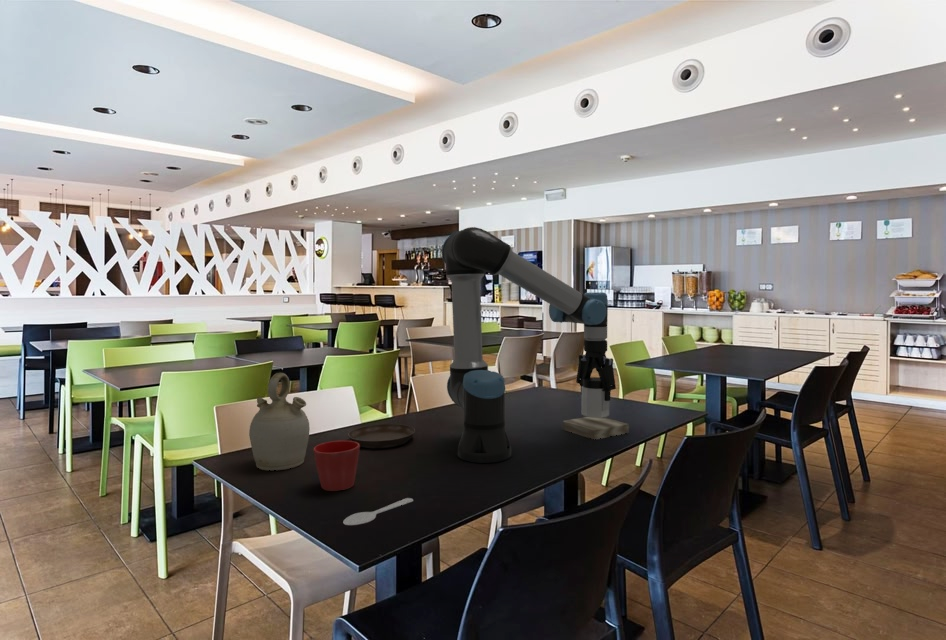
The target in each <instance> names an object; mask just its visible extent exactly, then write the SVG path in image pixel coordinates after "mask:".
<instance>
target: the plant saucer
mask: <svg viewBox="0 0 946 640" xmlns="http://www.w3.org/2000/svg"><path fill="white" fill-rule="evenodd" d="M415 429H416V428H414V427H413V426H409V425H406V424H399V423H383V424H372V425H371V424H370V425H366V426H361V427H358V428H355V429H353V430H351V431H349V432H348V433H347V436H348V438H349V440H350V441H354V442H357V443H359V445H360V448H367V449H386V448H387V449H388V448H394V447H398V446H399V447H400V446H402V445H404V444H406V443H407V442H408V441H409V440H411V438H412V437H413V436H414V434H415V432H416V430H415Z"/></svg>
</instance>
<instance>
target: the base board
mask: <svg viewBox="0 0 946 640" xmlns="http://www.w3.org/2000/svg"><path fill="white" fill-rule="evenodd" d="M629 429H630V425H629V423H626V422H622V421H619V420H614V419H611V418H607V417H603V418H593V417H586V416H583V417H579V418H572V419H571V418H570V419H567V420H562V431H566V432H568V433H569V432H570V433H571V432H572V434H574V435H578V436H581V437H583V438H588V439H590V438H591V439H590V440H593V439H594V441H595V439H596V440H601V439H605V438H606V439H607V438H611V437H610V436H612V437H616V435H617V436H621V434H622V435H626V434H625V433H627V434H629ZM600 438H601V439H600Z"/></svg>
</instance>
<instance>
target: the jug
mask: <svg viewBox="0 0 946 640" xmlns="http://www.w3.org/2000/svg"><path fill="white" fill-rule="evenodd" d="M279 381H280V383H281V386H280V387H281V388H280V392H279V393H278V391H277V390H278V389H277V388H278V384H279ZM290 383H291V382H290V378H289V376H288V375H287V374H286V373H284V372H276V373H275V374H273V375H272V376H271V377H270V379H269V382H268V385H267V395H268V398H269V399H270V400H271V403H268V400H266V399H264V398H263V397H261V396H258V397H257V398H256V402H257V403H256V404H257V405H256V407H258V408H259V409H258V411H257V412H256V413H255V414H254V416H253V418H251V422H250V425H249V431H248V433H249V434H248V436H249V440H250V445H251V451H252V455H253V460H254V462H255V466H256V468H257V469H258V468H259V470H260V471H269V470H270V471H271V472H272V471H273V472H274V470H276V471H282V470H283V471H284V470H291V469H294V468H296V467H298V466H301V465H302V464H303V463H304V462H305V458H306V454H307V448H308V444H309V439H310V422H309V419H308V416H307V415H306V411H304V410H303V409H302V408H304V407H306V406H307V402H306V401H305V399H303V398H301V397H299V396H294V397H293V398H292V403H291V402H289V401H288V400H287V396H289V391H290V387H291V385H290ZM290 468H291V469H290Z"/></svg>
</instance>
